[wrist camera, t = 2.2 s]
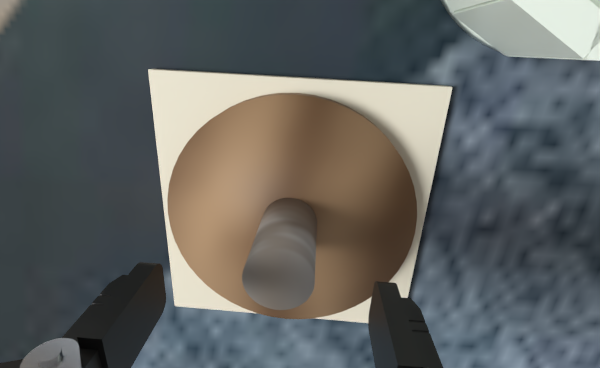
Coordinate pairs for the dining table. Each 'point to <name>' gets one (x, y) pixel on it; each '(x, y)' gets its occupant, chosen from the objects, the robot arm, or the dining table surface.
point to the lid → (292, 206)
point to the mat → (355, 94)
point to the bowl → (532, 26)
